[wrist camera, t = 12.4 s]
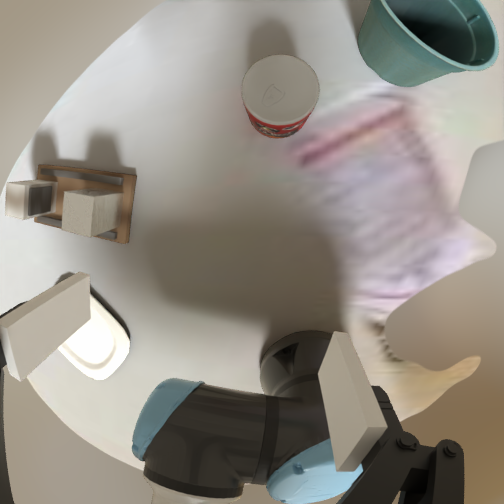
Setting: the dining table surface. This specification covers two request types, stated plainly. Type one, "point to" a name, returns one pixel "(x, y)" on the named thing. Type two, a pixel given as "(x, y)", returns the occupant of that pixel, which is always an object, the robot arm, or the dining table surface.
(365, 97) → the dining table surface
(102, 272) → the dining table surface
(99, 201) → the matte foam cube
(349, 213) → the dining table surface
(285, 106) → the canned food
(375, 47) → the flower pot
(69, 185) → the rail board
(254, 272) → the dining table surface
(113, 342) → the plate
